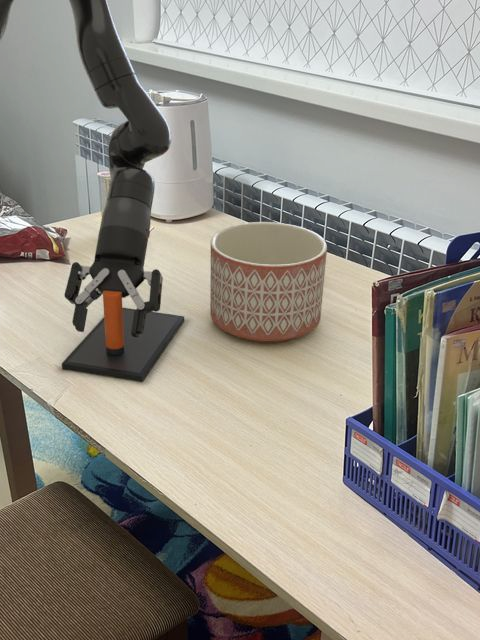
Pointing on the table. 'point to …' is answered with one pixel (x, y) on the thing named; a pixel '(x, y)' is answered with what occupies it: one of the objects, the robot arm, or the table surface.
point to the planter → (267, 280)
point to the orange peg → (113, 322)
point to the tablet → (125, 347)
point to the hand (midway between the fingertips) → (107, 333)
